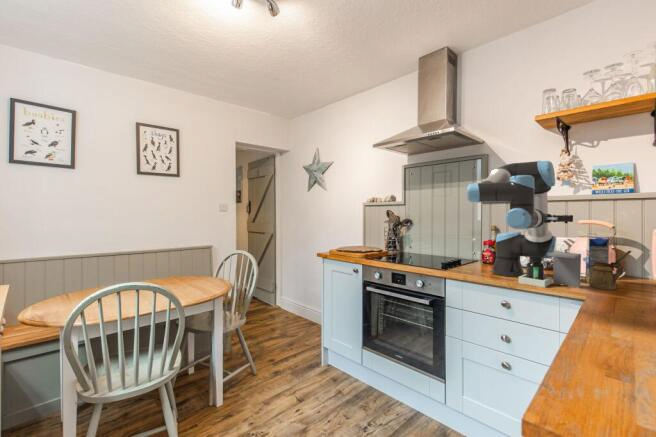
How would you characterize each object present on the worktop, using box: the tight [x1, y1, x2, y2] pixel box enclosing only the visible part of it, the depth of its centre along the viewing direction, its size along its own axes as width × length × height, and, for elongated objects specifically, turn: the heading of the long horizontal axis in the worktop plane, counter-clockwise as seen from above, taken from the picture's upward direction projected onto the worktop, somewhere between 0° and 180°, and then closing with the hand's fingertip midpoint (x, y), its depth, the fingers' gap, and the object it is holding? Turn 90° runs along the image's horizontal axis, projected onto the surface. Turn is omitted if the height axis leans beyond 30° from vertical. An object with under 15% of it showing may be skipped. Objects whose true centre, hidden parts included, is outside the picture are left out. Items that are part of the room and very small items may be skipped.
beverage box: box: [585, 236, 610, 285], centre depth 147 cm, size 7×11×22 cm, turn 145°
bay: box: [547, 251, 582, 289], centre depth 137 cm, size 10×11×16 cm
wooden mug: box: [588, 250, 632, 291], centre depth 136 cm, size 9×14×18 cm, turn 45°
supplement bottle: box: [526, 257, 545, 280], centre depth 144 cm, size 7×7×12 cm
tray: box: [518, 273, 553, 288], centre depth 145 cm, size 11×11×3 cm
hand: (548, 217), depth 129 cm, fingers open, 13 cm apart
